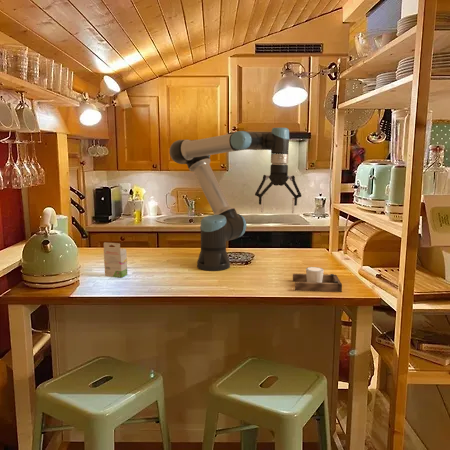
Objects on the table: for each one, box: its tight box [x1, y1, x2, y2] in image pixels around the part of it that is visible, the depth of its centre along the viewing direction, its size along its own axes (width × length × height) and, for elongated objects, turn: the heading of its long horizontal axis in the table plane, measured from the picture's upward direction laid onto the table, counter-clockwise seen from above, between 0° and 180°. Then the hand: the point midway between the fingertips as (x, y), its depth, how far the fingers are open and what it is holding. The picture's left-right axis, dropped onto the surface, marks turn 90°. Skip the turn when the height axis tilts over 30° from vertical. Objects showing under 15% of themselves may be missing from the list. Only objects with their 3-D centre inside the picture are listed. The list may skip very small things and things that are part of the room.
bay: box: [292, 273, 343, 293], centre depth 168 cm, size 18×13×4 cm
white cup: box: [305, 266, 325, 283], centre depth 168 cm, size 7×7×7 cm
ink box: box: [103, 242, 128, 278], centre depth 181 cm, size 9×5×15 cm, turn 71°
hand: (277, 212), depth 188 cm, fingers open, 13 cm apart
